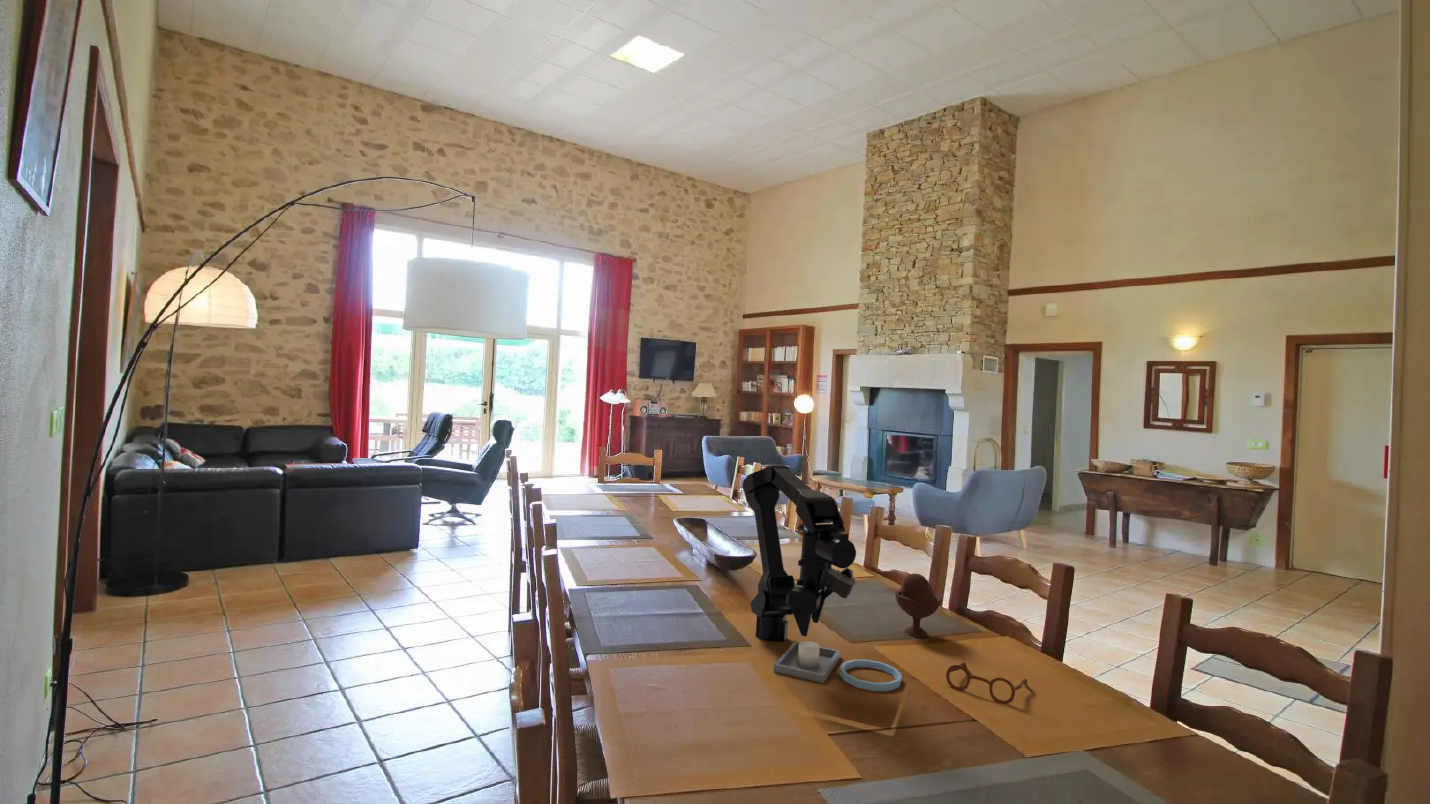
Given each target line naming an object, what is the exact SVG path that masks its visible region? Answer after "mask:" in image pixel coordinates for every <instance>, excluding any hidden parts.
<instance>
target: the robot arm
mask: <svg viewBox="0 0 1430 804" xmlns="http://www.w3.org/2000/svg"><path fill="white" fill-rule="evenodd" d="M742 490H743V493H744V496H745V501H746V503H747V505H748V506H749V507H750V508H751V510H753V512H754V519H755V525H756V531H757V533H756V534H757V539H758V540H757V541H758V547H759V552H760V553H759V554H760V561H761V562H760V563H761V566H762V567H761V568H762V575H761V577H760V579H759V580H758V584H757V594H756V595H755V596H754V598H752V600H751V601H750V610H751V612H752V614H754V615H755V616H756V622H755V625H756V627H755V637H756V638H759V639H760V640H763V641H766V642H779V643H781V642H782V643H783V642H785V641H786V640H787V639H788V633H789V631H788V630H789V620H787V616H792V615H793V616H794V619H795V622H796V625H797V627H798V630H799V633H800V635H801V637H805V638H806V637H807V636H808V633H809V629H810V625H811V620H812V622H813V623H815V624H818V623H819V621H820V619H821V618H820V617H821V616H822V615H821V614H822V611H823V608H824V605H825V602H826V599H827V598H828V597H829V596H831V595H832V594H833V593H834V594H837V595H838V596H839V597H840V598H843V599H847V598H848V597H849V596H850V595H851V593H852V590H853V588H854V585H855V583H856V578H854V575H853V570H852V569H851V568H849V567H850V566H851V565H852V564H853V563H854V561H855V559H856V556H857V550H856V547H855V544H854V543H853V541H851V540H849V538H850V537H849V536H850V535H849V533H848V532H845V531H846V529H845V526H844V521H843V518H842V515H841V513H840V510H839V508H838V505H837V502H836V500H835V498H834V497H832V496H831V495H829V494H827V493H824V492H823V491H819V490H816V489H812V488H811V487H810V486H809V485H807V484H806V483H805V482H804V481H803V480H801V478H799V477H798V476H797V475H796V474H794V472H792V471H791V470H790V468H789V466H788V465H785V464H769V465H767V466H765V467H764V468H761V469H760V470H757V471H754V472H751V473H749V474H748V475H746V478H744V479H743V481H742ZM780 492H781V493H783V494H784V496H786V497H787V498H788V500H790V502H792V503H793V504H794V505H795V513H796V515H797V516H798V517H799V518H800V520H801V522H802V523H801V524H800V525H798V526H797V529H798V530H799V531H801V532H802V536H801V537H802V538H801V539H802V540H801V553H800V554H801V555H800V559H798V560H797V561H798V562H797V563H798V564H797V566H799V567H800V568H799V569H800V570H799V578H797V580H796V584H795V578H794V576H793V575H789V574H788V573H787V572H786V570H785V568H784V562H783V555H782V549H781V548H782V547H781V541H780V536H779V528H778V522H777V516H776V506H777V504H778V501H779V499H780ZM834 566H835V567H836V568H838V569H835V568H832V567H834ZM839 569H842V570H841V571H840V570H839Z"/></svg>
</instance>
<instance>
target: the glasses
mask: <svg viewBox="0 0 1430 804" xmlns="http://www.w3.org/2000/svg"><path fill="white" fill-rule="evenodd" d="M967 668H968V667H967V663H966V662H964V661H962V662H960V663H959V664H954V665H951V666H949V667H948V668H947V670H946V674H945V677H946V682H947V684H948V685H949V686H950V688H952V689H955V690H958V691H964V690H966V689H967V688H968V687H969V685H970V682H971V680H972V679H973V680H978V681H981V682H983V683H986V684H988V688H989V689H988V691H989V695H990V697H991V698H992V700H994V701H995V702H996V701H997V703H1000V704H1002V705H1007V704H1010V703H1012V702H1013V700H1014V699H1015V696H1016V691H1018V690H1019V689H1021V688H1022V687H1023V685H1024V686H1025V685H1026V686H1027V685H1028V679H1027V678H1024V679H1022V680H1021V682H1020V683H1019V684H1017V685H1015V686H1014V684H1013V683H1012V682H1011V681H1010V680H1008V679H1007V678H1003V677H995V678H992V679H991V680H989V679H987V678H985V677H981V676H977V675H971V673H970V671H969V670H968V669H967ZM959 670H962V671H963V672H964V673H965V675H966V683H965V685H964V686H957V685H955V684H953V683H952V681H951V678H950V674H951V673H953V672H956V671H959ZM998 681H999V682H1004V683H1006V684H1007V685H1008V686H1009V688H1010V690H1011V691H1010V692H1011V694H1010V697H1009V699H1006V700H1002V699H999V698H998V697H996V696H995V694H994V692H993V691H994V690H993V687H994V684H995V683H996V682H998ZM1026 686H1025V687H1026ZM1028 686H1029V685H1028ZM1028 686H1027V687H1028Z"/></svg>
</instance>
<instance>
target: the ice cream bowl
mask: <svg viewBox="0 0 1430 804" xmlns="http://www.w3.org/2000/svg"><path fill="white" fill-rule="evenodd" d="M894 594H895V600H896V603H897V604H898V606H899V608H900V609H901V610H902V611H903V612H904V613H906V614H907V615H908V616H910V617H912V625H911V626H908V627H906V628H905V629H904V631H903V632H904V633H905V634H906V633H907V634H908V635H907V634H906V635H907V636H910V635H911V636H910V637H912V636H913V638H920V639H921V638H926V637H927V636H928V631H926V630H924V629H923V628H922V627H921V621H922V619H923V618H924V619H925V618H928V617H930V616H933V614H935V613H936V612H937V610H938V609H939V607H940V605H941V603H942V597H941V596H939V595H938V594H937V593H934V589H933V587H932V585H931V584H930V582H929V581H928V579H927V578H926V577H925V575H921V574H920V573H911V574H907V575H906V576H905V577H904V579H903V582H902V584H901V586H900V589H898V590H897V591H895V593H894Z"/></svg>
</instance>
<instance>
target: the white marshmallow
mask: <svg viewBox="0 0 1430 804" xmlns="http://www.w3.org/2000/svg"><path fill="white" fill-rule="evenodd" d="M820 647H821V645H820V644H818V643H816V642H815V641H809V640H808V641H806V640H804V641H800V643H799V648H798V665H799V666H801V667H804V668H817V667H818V666H819V651H820Z"/></svg>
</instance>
